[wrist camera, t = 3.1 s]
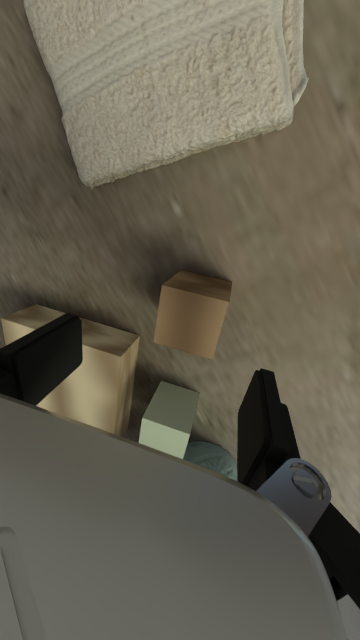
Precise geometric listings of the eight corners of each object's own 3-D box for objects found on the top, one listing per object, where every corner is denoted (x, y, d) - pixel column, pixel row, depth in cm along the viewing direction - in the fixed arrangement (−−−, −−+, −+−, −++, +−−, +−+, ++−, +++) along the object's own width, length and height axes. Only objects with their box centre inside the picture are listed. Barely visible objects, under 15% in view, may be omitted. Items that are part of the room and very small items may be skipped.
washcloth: (301, 127, 16) (314, 107, 13) (93, 195, 21) (71, 190, 19) (297, -142, 12) (314, -254, 9) (42, 26, 17) (4, -12, 15)
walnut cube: (232, 282, 21) (229, 302, 16) (218, 328, 23) (212, 359, 18) (181, 269, 22) (161, 285, 16) (173, 315, 24) (153, 342, 18)
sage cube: (200, 392, 27) (190, 434, 22) (192, 421, 29) (181, 465, 24) (161, 380, 28) (142, 417, 22) (156, 409, 30) (137, 449, 24)
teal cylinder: (177, 479, 35) (149, 594, 24) (166, 431, 31) (126, 541, 20) (245, 490, 32) (248, 626, 21) (241, 438, 28) (242, 571, 17)
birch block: (141, 334, 26) (120, 357, 22) (129, 426, 33) (112, 457, 29) (38, 303, 28) (0, 318, 24) (47, 396, 35) (19, 420, 31)
